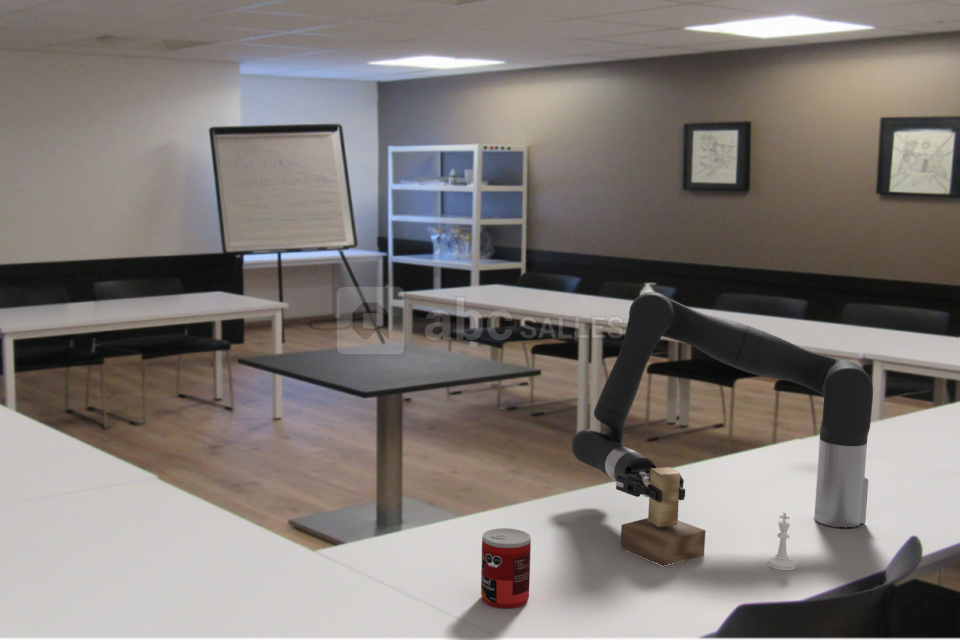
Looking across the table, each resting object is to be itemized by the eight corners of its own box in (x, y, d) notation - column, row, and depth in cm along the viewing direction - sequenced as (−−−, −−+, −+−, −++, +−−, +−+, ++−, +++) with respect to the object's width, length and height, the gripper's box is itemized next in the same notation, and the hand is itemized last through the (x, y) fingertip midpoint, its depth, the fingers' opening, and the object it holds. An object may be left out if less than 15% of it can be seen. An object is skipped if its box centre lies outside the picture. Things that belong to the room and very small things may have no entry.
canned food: (478, 590, 168) (480, 528, 166) (525, 589, 168) (527, 527, 167) (482, 609, 160) (484, 544, 159) (532, 609, 161) (533, 543, 159)
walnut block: (661, 538, 195) (662, 514, 194) (704, 556, 186) (705, 530, 186) (620, 550, 189) (621, 524, 188) (663, 568, 180) (664, 541, 179)
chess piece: (797, 571, 179) (800, 518, 177) (768, 569, 180) (771, 515, 178) (794, 561, 184) (797, 509, 182) (766, 559, 185) (769, 507, 183)
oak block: (667, 517, 189) (669, 467, 188) (677, 524, 186) (680, 473, 184) (648, 519, 188) (650, 468, 187) (658, 526, 184) (660, 474, 183)
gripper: (598, 453, 197) (638, 479, 181) (662, 449, 201) (707, 473, 185) (597, 490, 198) (636, 518, 182) (661, 485, 202) (704, 512, 186)
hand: (671, 495), depth 183 cm, fingers closed on oak block, 4 cm apart
